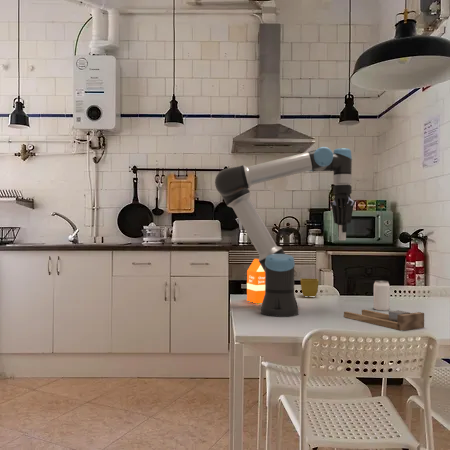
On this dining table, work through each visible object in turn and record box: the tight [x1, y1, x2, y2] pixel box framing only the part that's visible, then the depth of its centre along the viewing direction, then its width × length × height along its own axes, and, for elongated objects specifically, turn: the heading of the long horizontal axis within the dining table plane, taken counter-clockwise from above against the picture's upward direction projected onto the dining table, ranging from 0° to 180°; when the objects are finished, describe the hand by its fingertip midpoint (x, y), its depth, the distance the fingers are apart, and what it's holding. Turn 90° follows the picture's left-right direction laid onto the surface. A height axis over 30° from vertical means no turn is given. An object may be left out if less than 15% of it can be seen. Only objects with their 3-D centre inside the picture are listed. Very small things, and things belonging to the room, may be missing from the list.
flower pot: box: [300, 277, 320, 297], centre depth 226 cm, size 9×9×9 cm
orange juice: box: [246, 258, 265, 304], centre depth 208 cm, size 8×9×20 cm
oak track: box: [343, 309, 425, 331], centre depth 165 cm, size 11×27×5 cm, turn 30°
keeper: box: [388, 309, 411, 322], centre depth 158 cm, size 5×5×5 cm
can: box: [373, 280, 391, 312], centre depth 191 cm, size 6×6×12 cm
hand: (342, 240), depth 192 cm, fingers closed
